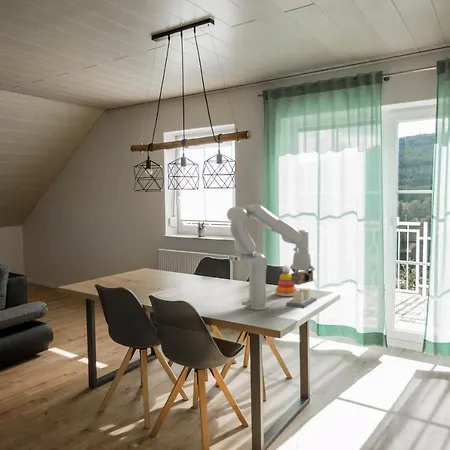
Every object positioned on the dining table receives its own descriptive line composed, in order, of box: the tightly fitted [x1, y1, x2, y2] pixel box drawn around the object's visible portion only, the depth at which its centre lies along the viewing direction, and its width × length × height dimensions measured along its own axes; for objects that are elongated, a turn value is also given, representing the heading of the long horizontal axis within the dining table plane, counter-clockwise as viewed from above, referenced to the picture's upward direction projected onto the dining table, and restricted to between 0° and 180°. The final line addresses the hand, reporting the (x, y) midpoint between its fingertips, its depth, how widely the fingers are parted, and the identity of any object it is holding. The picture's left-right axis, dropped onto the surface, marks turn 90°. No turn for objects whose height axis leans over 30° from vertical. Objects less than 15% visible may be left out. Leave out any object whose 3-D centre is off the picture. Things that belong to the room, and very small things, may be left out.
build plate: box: [286, 287, 317, 309], centre depth 259 cm, size 20×11×8 cm, turn 148°
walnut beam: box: [290, 270, 314, 286], centre depth 258 cm, size 15×5×6 cm, turn 134°
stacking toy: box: [274, 264, 297, 297], centre depth 279 cm, size 14×14×20 cm
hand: (302, 280), depth 258 cm, fingers closed on walnut beam, 5 cm apart
